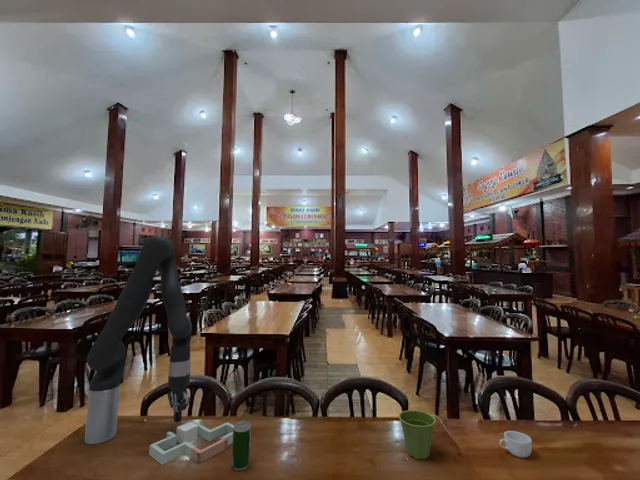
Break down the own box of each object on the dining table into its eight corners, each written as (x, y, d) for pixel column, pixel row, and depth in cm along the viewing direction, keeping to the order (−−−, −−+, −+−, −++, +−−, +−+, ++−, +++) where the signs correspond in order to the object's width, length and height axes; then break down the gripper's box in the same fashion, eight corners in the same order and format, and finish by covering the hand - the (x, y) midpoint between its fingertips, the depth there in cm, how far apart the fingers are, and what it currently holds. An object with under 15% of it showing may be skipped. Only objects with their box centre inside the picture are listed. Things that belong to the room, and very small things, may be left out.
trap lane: (144, 451, 100) (145, 441, 100) (210, 422, 120) (211, 414, 120) (176, 475, 88) (176, 464, 88) (244, 439, 108) (244, 430, 108)
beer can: (234, 473, 89) (236, 430, 91) (229, 464, 94) (231, 422, 95) (252, 467, 92) (253, 425, 94) (246, 458, 97) (247, 418, 98)
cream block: (176, 440, 107) (176, 426, 107) (189, 434, 111) (190, 421, 111) (183, 445, 104) (184, 431, 104) (197, 439, 108) (197, 425, 108)
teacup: (523, 447, 105) (522, 431, 106) (538, 461, 97) (537, 443, 98) (493, 446, 105) (492, 430, 106) (506, 460, 97) (505, 442, 98)
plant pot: (421, 441, 108) (420, 407, 109) (444, 460, 97) (443, 423, 98) (392, 446, 104) (391, 412, 106) (413, 467, 93) (412, 428, 94)
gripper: (160, 371, 115) (158, 420, 113) (178, 378, 107) (176, 431, 105) (180, 366, 121) (178, 412, 119) (198, 373, 113) (196, 422, 111)
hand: (177, 421), depth 112 cm, fingers closed
